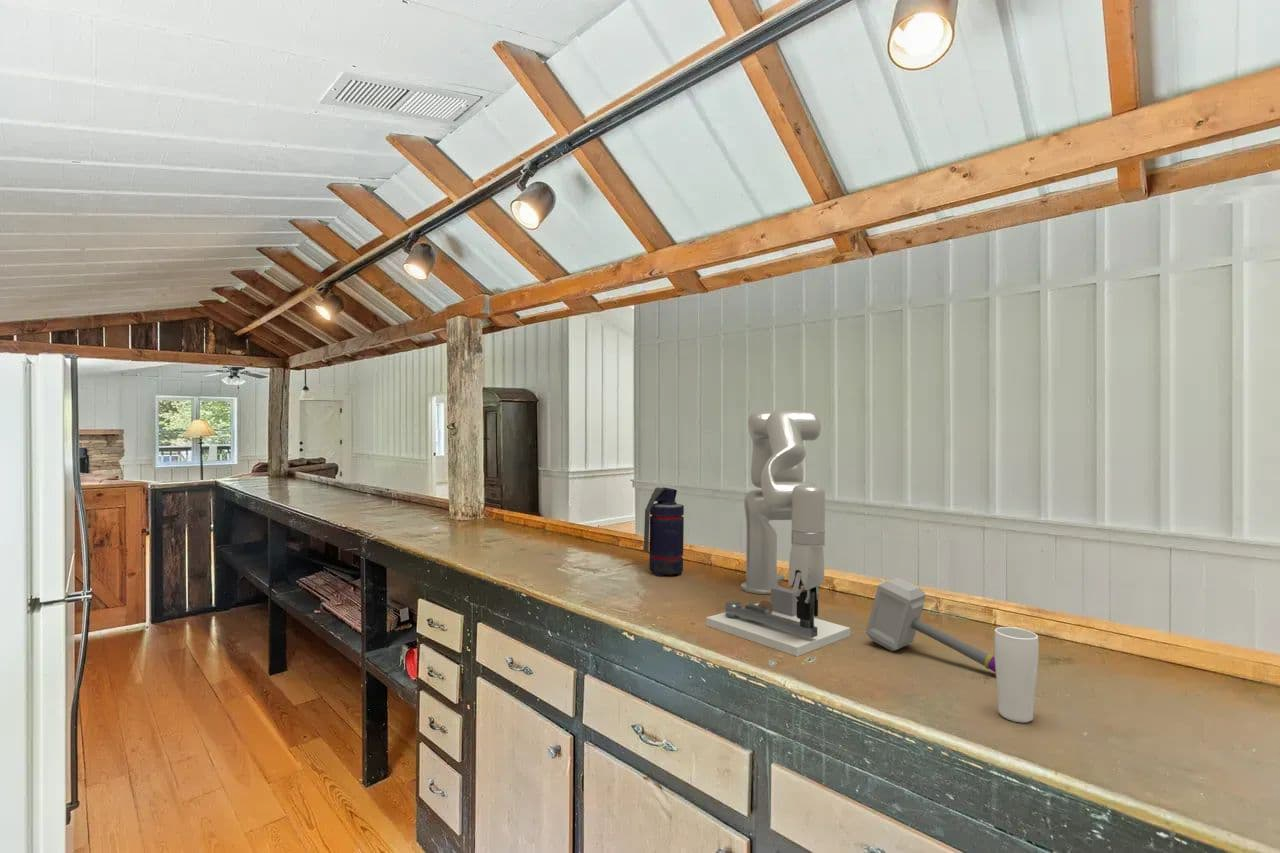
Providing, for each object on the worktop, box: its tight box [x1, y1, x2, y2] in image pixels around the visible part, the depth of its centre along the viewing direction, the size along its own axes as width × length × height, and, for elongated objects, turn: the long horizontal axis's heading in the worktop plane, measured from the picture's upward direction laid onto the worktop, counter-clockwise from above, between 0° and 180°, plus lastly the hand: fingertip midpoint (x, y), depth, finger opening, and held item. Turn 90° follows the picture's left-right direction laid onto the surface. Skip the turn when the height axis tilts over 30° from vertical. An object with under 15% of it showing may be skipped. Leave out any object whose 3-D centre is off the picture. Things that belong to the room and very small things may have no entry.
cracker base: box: [705, 586, 851, 657], centre depth 155 cm, size 28×22×8 cm
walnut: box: [758, 600, 773, 614], centre depth 159 cm, size 4×4×4 cm
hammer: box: [865, 577, 996, 673], centre depth 136 cm, size 15×8×30 cm
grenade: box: [643, 486, 685, 578], centre depth 216 cm, size 14×12×30 cm
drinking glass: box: [993, 626, 1040, 723], centre depth 110 cm, size 7×7×15 cm
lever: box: [725, 590, 817, 638], centre depth 152 cm, size 26×5×10 cm, turn 42°
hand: (807, 616), depth 144 cm, fingers closed on lever, 3 cm apart
